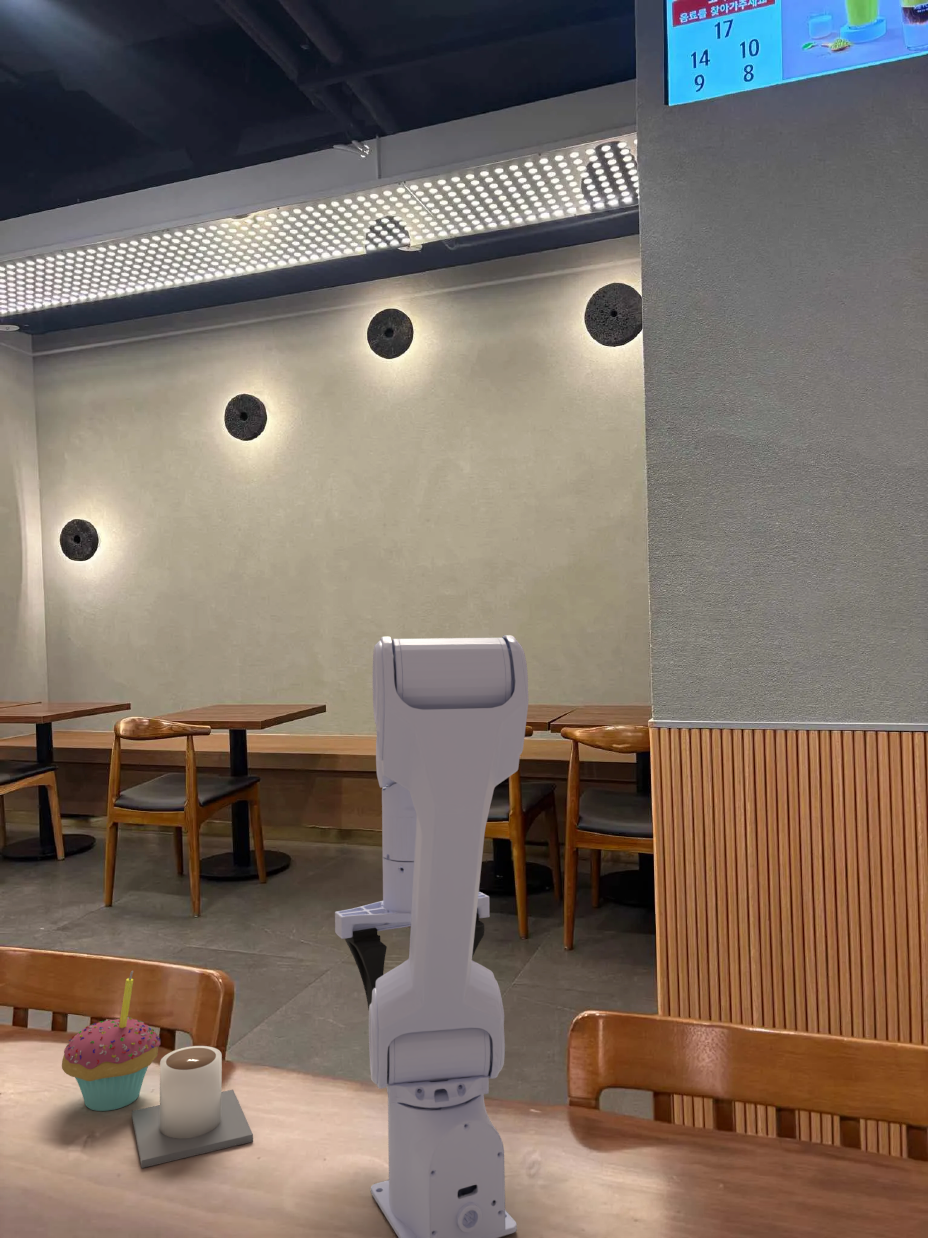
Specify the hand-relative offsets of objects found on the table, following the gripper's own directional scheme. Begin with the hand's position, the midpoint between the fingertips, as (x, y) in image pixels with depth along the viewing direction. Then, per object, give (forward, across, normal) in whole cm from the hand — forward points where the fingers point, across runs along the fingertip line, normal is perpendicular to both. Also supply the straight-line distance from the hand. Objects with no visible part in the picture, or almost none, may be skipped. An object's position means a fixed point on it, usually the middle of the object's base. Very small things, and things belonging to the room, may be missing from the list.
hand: (415, 1006), depth 82 cm
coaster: (+9, +19, -6) cm, 22 cm away
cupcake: (+10, +25, -15) cm, 31 cm away
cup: (+9, +19, -6) cm, 22 cm away
